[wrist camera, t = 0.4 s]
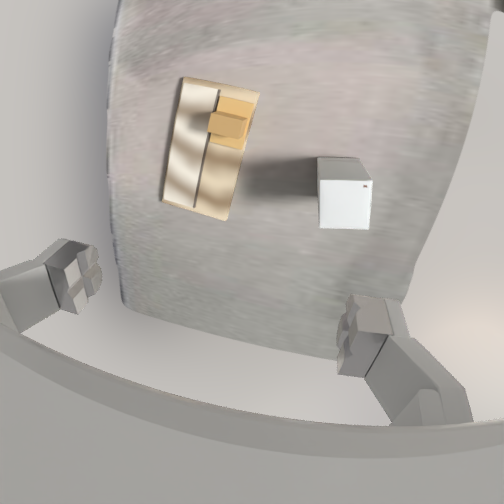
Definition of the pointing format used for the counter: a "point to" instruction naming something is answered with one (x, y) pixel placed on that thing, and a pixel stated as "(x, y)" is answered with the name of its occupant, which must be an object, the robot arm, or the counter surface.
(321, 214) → the supplement box
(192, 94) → the board
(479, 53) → the counter surface
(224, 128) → the stepped wooden block
